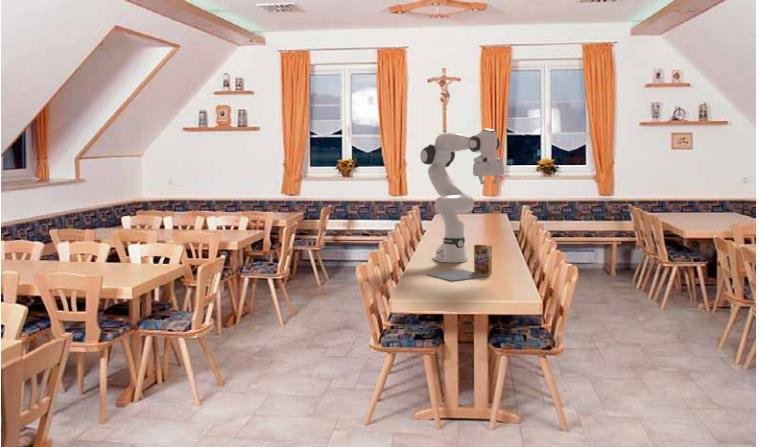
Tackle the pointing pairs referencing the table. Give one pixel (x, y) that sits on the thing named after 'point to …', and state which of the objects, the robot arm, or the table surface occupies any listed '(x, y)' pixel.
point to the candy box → (483, 258)
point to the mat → (457, 275)
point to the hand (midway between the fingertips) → (488, 183)
